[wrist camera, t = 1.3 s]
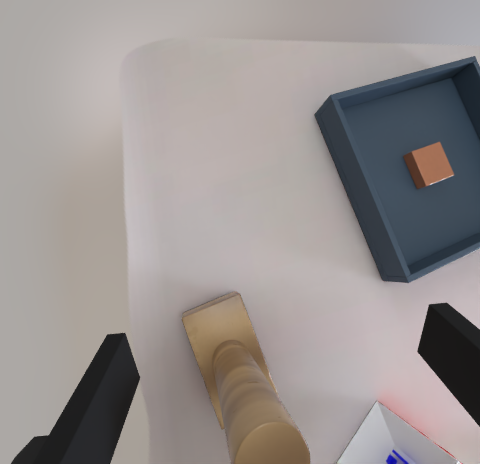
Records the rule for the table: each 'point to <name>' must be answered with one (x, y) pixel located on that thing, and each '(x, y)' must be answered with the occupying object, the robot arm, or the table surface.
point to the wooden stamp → (242, 385)
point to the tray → (397, 173)
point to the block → (428, 165)
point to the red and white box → (392, 442)
